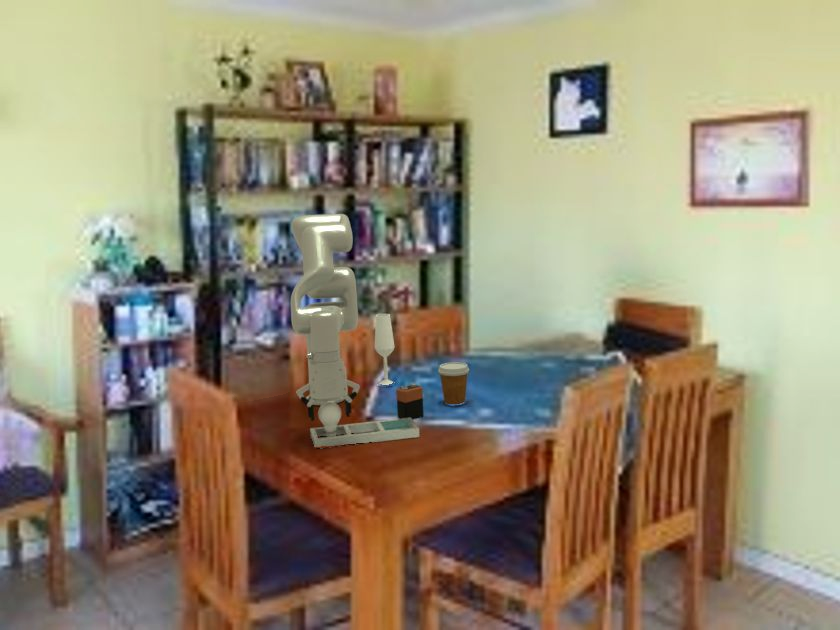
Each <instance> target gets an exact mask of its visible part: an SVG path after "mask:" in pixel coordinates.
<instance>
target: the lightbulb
mask: <svg viewBox="0 0 840 630" xmlns="http://www.w3.org/2000/svg"><path fill="white" fill-rule="evenodd" d="M317 416H318V419H319V421H320V422H321V424H322V425H323V427H324V428H325V430H326V436H327V437H334V436H336V428H337V425H338V424H339V423H340V420H341V417H342V409H341V407H340V405H338V403H334V402H326V403H324V404H322V405H320V407H319V408H318V412H317Z"/></svg>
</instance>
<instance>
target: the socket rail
mask: <svg viewBox="0 0 840 630" xmlns="http://www.w3.org/2000/svg"><path fill="white" fill-rule="evenodd" d="M309 431H310V440H311V439H312V440H311V442H312V441H313V443H312V445H313V444H314V446H313V448H314V447H321V446H334V445H344V444H355V445H357V444H356V443H364V444H370V443H369V442H372V443H379V442H388V441H397V440H406V439H412V438H413V439H414V438H420V427H419V425H417V423H416V422H415V421H414V419H412V418H411V417H409V418H394V419H385V420H376V421H366V422H365V421H364V422H358V423H357V422H356V423H348V424H339V425H338V424H337V428H336V435H337V436H334V437H319V438H318V436H326V430H325V428H324V426H320V427H311V428H309ZM351 433H354V434H351ZM341 434H344V435H341Z"/></svg>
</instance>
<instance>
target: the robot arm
mask: <svg viewBox="0 0 840 630" xmlns="http://www.w3.org/2000/svg"><path fill="white" fill-rule="evenodd" d="M349 219H350V218H349V217H348V215H347V214H344V213H329V214H328V213H327V214H309V215H308V214H307V215H300V216H296V217H294V219H292V221H291V232H292V235H293V238H294V240H295V242H296V244H297V246H298V248H299V251H300V253H301V256H302V257H301V258H302V267H303V271H302V272H303V275H302V276H301V278H300V279H299V280H298V282H297V283H296V285H295V286H294V288H293V291H292V292H291V296H290V316H291V317H290V318H291V327H292V329H293V331H294V333H296V334H298V335H303V336H304V335H305V342H306V351H307V353H306V359H307V364H308V365H307V366H308V383H306V384H305V385H303V386H302V387H300V388H298V389H296V391H295V393H296V395H297V396H298V398H299V400H300V401H301V402H302V403H304V404H305V405H306V407H307V416H308V418H310V420H311V422H314V421H315V413H314V411H315V409H314V406H321V405H322V404H324V403H326V402H334V403H336V404H339V403H341V402H343V401H344V410H345V413H344V414H345V416H346V418H350V414H352V402H353V401H354V399H355V398H356V397H357V396H358V393H359V391H360V389H361V385H360V384H358V383H356V382H354V381H351V380H349V379H348V377H347V372H346V371H347V370H346V366H345V362H344V360H343V359H341V351H340V348H341V347H340V334H339V333H340V332H350V331H354V330H356V329H357V327H358V326H359V325H358V324H359V310H358V309H359V307H358V296H357V282H356V281H357V280H356V275H355V273H354V271H353V270H352V269H351V268H350V267H347V266H336V267H335V266H334V257H333V256H334V255H333V254H336V253H337V254H338V253H348V252H350V251H351V250H352V248H353V243H354V241H353V237H354V236H353V231H352V227H351V222H350V220H349ZM306 295H307V297H308V298H310V299H313V300H314V299H315V300H317V299H318V300H319V299H320V300H321V299H322V300H323V299H337V298H338V299H342V301H339V300H338V301H325V302H314V303H313V302H312V303H310V304H307V305H305V306H302V307H301V302H302V300H303V297H304V296H306ZM348 386H349V387H351V388H352V389H353V390H352V391H351V392H350V394H348V393H349V390H348V388H349V387H348ZM307 391H309V394H308V395H307V396H306V397H305V395H304V394H305V392H307Z"/></svg>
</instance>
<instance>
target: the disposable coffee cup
mask: <svg viewBox="0 0 840 630" xmlns="http://www.w3.org/2000/svg"><path fill="white" fill-rule="evenodd" d="M437 371H438V373H439V376H440V382H441V389H442V395H443V401H444V404H445V403H447V404H460V403H463V402H465V403H466V395H467V386H468V385H467V383H468V374H469V372H470V368H469V366H468V364H467V363H465V362H458V361H454V362H453V361H452V362H445V363H441V364H440V365H439V367H438V370H437Z"/></svg>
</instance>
